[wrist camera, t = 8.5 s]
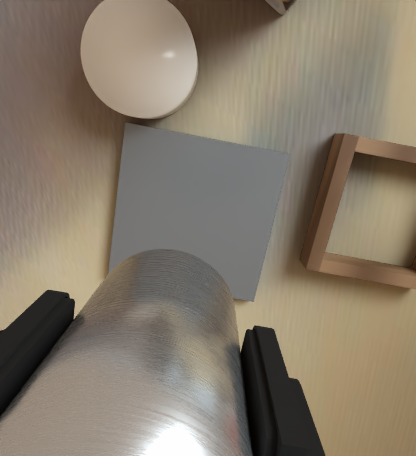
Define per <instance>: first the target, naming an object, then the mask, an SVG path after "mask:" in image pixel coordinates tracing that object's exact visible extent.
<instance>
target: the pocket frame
mask: <svg viewBox="0 0 416 456" xmlns="http://www.w3.org/2000/svg"><path fill="white" fill-rule="evenodd" d="M354 152H357V153H362V154H367V155H372V156H378V157H383V158H388V159H393V160H398V161H403V162H409V163H414V164H416V147H411V146H406V145H401V144H396V143H391V142H386V141H380V140H375V139H370V138H365V137H360V136H355V135H350V134H334V138H333V141H332V145H331V149H330V152H329V156H328V159H327V163H326V167H325V170H324V174H323V177H322V181H321V185H320V188H319V192H318V195H317V199H316V203H315V206H314V210H313V213H312V217H311V221H310V224H309V228H308V231H307V235H306V239H305V242H304V246H303V249H302V253H301V257H300V261H301V263H302V264H303V266H304V267H305V268H306V269H307V270H312V271H318V272H323V273H329V274H334V275H340V276H345V277H351V278H356V279H362V280H367V281H373V282H378V283H384V284H389V285H395V286H400V287H406V288H411V289H416V257H415V259H414V262H413V265H412V267H411V268H407V267H402V266H397V265H391V264H386V263H380V262H375V261H369V260H364V259H358V258H353V257H348V256H342V255H337V254H331V253H326V252H325V250H326V246H327V243H328V240H329V236H330V233H331V230H332V226H333V223H334V220H335V216H336V213H337V209H338V206H339V203H340V199H341V196H342V193H343V189H344V186H345V183H346V179H347V176H348V173H349V169H350V166H351V162H352V159H353V156H354Z"/></svg>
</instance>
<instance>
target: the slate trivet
mask: <svg viewBox="0 0 416 456" xmlns="http://www.w3.org/2000/svg"><path fill="white" fill-rule="evenodd" d="M289 156H290V154H288V153H283V152H277V151H272V150H267V149H262V148H257V147H251V146H246V145H241V144H236V143H231V142H225V141H220V140H215V139H210V138H205V137H199V136H194V135H189V134H184V133H179V132H173V131H168V130H163V129H158V128H152V127H147V126H142V125H137V124H132V123H126V122H125V128H124V137H123V146H122V155H121V163H120V172H119V181H118V190H117V199H116V208H115V217H114V226H113V235H112V244H111V253H110V261H109V270H108V274H109V273H110V271H111V270H112V269H113V268H114V267H115V266H116V265H118V264H119V263H120V262H122V261H123V260H125V259H126V258H128V257H130V256H132V255H135V254H137V253H140V252H143V251H147V250H154V249H172V250H178V251H183V252H186V253H189V254H192V255H194V256H196V257H198V258H200V259H202V260H204V261H205V262H207V263H208V264H210V265H211V266H212V267H213V268H214V269H215V270H216V271H218V273H219V274H220V275H221V276H222V277H223V279H224V280H225V282H226V283H227V285H228V287H229V289H230V291H231V293H232V296H233V298H235V299H241V300H246V301H252V302H254V298H255V294H256V290H257V286H258V282H259V278H260V274H261V270H262V266H263V262H264V258H265V254H266V250H267V246H268V242H269V238H270V233H271V229H272V225H273V221H274V217H275V213H276V209H277V205H278V201H279V197H280V193H281V189H282V185H283V181H284V177H285V173H286V169H287V165H288V160H289Z"/></svg>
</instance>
